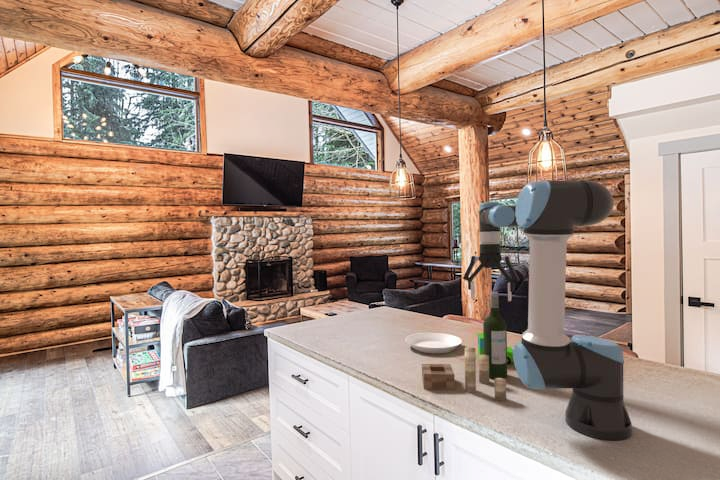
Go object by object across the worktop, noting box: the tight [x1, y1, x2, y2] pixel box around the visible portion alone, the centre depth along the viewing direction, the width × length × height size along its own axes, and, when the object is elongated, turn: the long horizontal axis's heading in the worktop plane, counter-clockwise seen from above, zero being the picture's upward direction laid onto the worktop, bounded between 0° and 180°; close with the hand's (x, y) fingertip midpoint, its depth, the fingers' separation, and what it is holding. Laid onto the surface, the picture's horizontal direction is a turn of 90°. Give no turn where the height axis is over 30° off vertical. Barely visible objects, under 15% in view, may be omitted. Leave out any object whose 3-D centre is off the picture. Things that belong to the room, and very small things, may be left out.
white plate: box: [405, 332, 463, 354], centre depth 180 cm, size 25×25×4 cm
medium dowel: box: [478, 355, 490, 385], centre depth 138 cm, size 3×3×9 cm
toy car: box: [477, 332, 514, 366], centre depth 159 cm, size 10×13×10 cm
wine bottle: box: [482, 291, 508, 380], centre depth 143 cm, size 8×8×30 cm
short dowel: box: [494, 378, 507, 402], centre depth 124 cm, size 3×3×6 cm
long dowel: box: [464, 346, 477, 394], centre depth 130 cm, size 3×3×14 cm
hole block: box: [421, 363, 456, 390], centre depth 137 cm, size 10×10×5 cm
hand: (490, 299), depth 151 cm, fingers open, 13 cm apart
